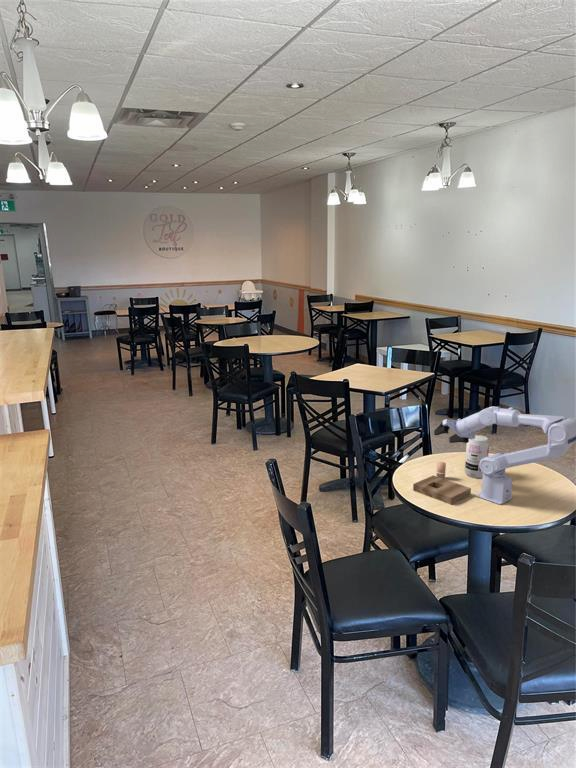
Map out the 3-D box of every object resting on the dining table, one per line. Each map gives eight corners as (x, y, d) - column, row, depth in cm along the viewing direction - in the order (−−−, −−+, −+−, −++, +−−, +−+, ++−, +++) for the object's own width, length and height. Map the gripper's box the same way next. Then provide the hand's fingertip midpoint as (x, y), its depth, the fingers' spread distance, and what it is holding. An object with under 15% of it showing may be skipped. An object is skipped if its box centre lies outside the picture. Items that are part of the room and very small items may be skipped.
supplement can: (483, 470, 217) (486, 434, 214) (489, 479, 209) (491, 441, 206) (462, 470, 218) (465, 434, 215) (467, 478, 210) (469, 441, 207)
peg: (446, 478, 211) (447, 463, 209) (441, 480, 209) (442, 465, 207) (439, 475, 213) (440, 461, 212) (434, 477, 211) (435, 463, 210)
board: (470, 494, 196) (470, 488, 195) (451, 504, 188) (451, 497, 188) (432, 481, 208) (433, 475, 207) (413, 490, 200) (413, 483, 200)
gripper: (484, 422, 201) (456, 434, 211) (455, 407, 196) (428, 420, 206) (485, 439, 197) (456, 450, 208) (455, 424, 192) (427, 436, 202)
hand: (442, 436), depth 207 cm, fingers open, 7 cm apart
